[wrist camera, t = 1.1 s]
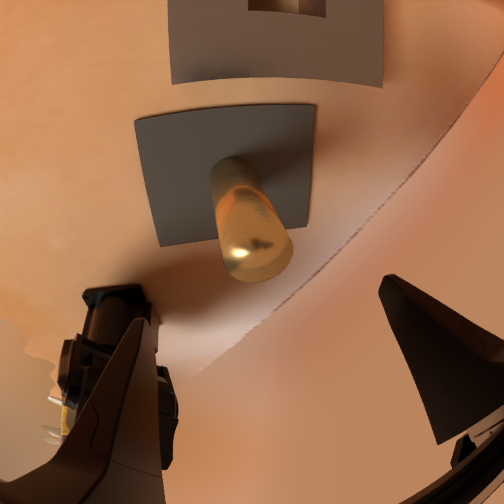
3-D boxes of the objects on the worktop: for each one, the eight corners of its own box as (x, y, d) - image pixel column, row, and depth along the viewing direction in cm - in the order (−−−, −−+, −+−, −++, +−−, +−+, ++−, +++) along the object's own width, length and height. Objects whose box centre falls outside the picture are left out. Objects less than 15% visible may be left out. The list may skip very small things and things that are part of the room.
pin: (211, 198, 19) (226, 287, 12) (207, 159, 17) (219, 230, 10) (252, 194, 20) (290, 276, 13) (251, 155, 18) (295, 221, 11)
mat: (160, 244, 21) (160, 246, 21) (135, 120, 15) (133, 121, 14) (304, 224, 23) (306, 226, 22) (312, 104, 16) (314, 105, 16)
